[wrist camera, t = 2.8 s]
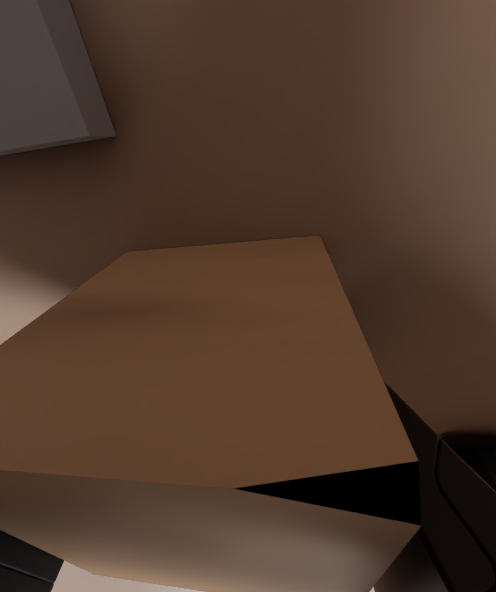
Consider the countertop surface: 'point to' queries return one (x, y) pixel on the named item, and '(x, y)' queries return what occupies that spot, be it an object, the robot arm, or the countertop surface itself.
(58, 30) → the mat
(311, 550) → the cube
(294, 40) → the countertop surface
